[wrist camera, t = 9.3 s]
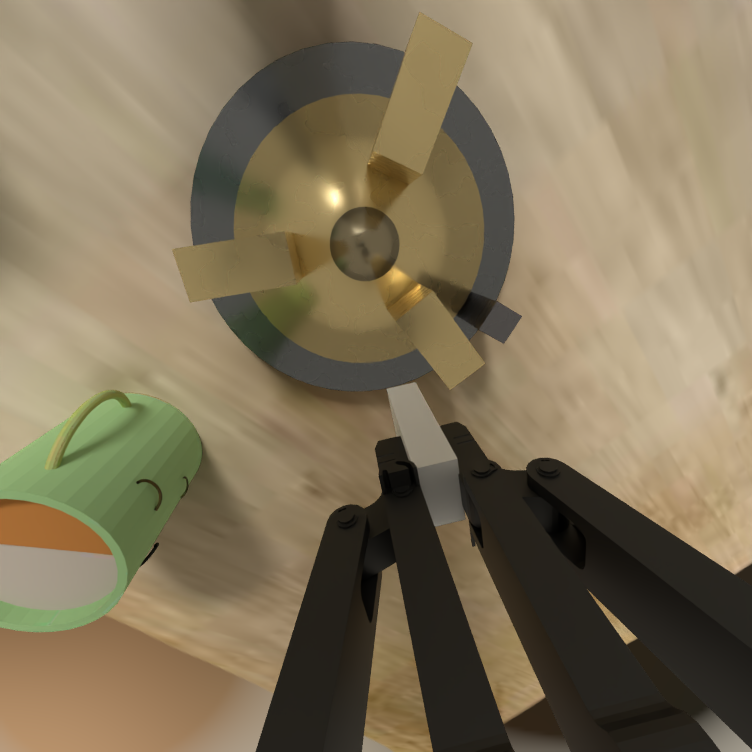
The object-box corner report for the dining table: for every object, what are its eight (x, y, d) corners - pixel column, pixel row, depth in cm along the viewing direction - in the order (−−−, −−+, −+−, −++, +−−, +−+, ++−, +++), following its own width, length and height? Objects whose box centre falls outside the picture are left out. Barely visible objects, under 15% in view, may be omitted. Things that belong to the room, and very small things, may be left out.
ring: (277, -31, 21) (251, -155, 14) (559, 180, 26) (632, 160, 20) (158, 307, 26) (101, 329, 20) (410, 420, 32) (428, 466, 26)
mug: (201, 503, 33) (132, 637, 22) (74, 487, 31) (-73, 625, 20) (215, 379, 29) (140, 466, 18) (71, 351, 27) (-116, 430, 16)
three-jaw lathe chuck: (180, 239, 23) (125, 239, 17) (396, 32, 20) (421, -56, 14) (350, 415, 29) (354, 462, 23) (535, 271, 26) (595, 280, 20)
